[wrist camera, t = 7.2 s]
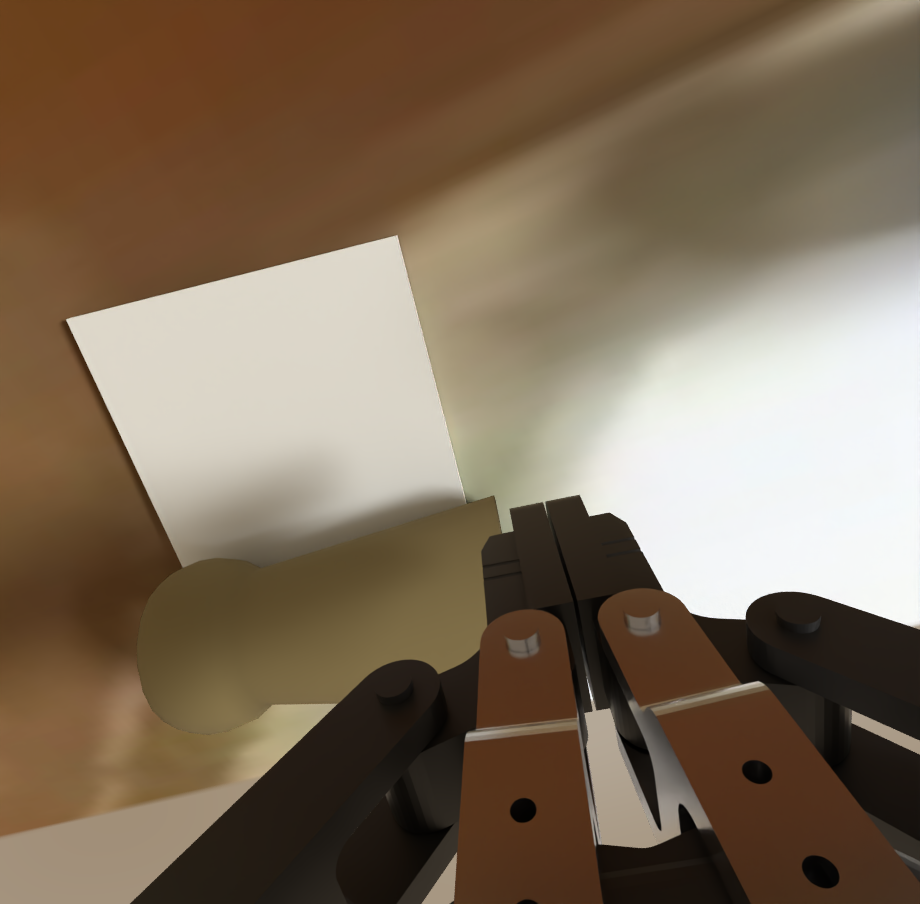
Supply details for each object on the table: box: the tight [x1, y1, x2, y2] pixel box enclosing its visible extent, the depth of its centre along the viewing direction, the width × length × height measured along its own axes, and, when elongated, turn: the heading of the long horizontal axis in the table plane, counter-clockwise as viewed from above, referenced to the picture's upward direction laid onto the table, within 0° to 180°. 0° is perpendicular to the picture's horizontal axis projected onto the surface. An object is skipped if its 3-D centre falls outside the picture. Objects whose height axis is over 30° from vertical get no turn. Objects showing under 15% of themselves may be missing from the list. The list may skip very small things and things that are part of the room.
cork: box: [137, 496, 502, 735], centre depth 19 cm, size 6×6×11 cm
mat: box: [66, 235, 467, 568], centre depth 20 cm, size 12×10×1 cm
